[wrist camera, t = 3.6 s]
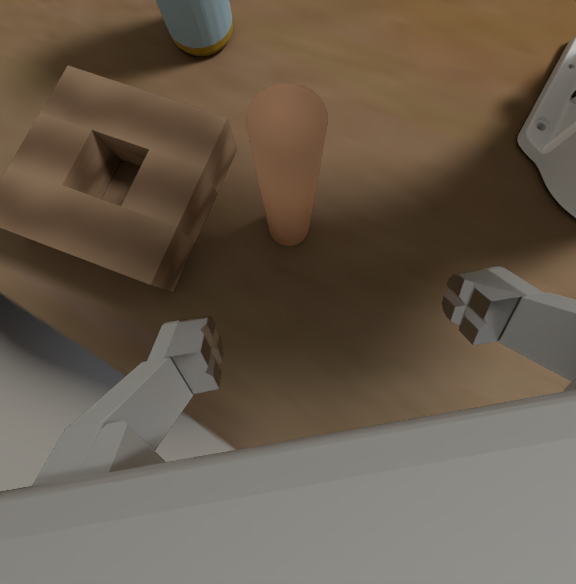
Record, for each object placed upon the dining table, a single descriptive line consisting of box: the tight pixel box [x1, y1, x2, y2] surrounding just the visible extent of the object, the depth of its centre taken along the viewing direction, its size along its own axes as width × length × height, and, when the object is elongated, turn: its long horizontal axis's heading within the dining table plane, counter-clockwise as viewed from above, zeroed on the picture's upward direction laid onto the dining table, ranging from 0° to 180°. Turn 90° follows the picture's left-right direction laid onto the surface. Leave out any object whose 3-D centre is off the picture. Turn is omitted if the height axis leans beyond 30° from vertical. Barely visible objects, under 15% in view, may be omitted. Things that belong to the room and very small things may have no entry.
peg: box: [246, 83, 328, 246], centre depth 19 cm, size 4×4×13 cm
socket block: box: [0, 66, 237, 292], centre depth 24 cm, size 16×16×4 cm
